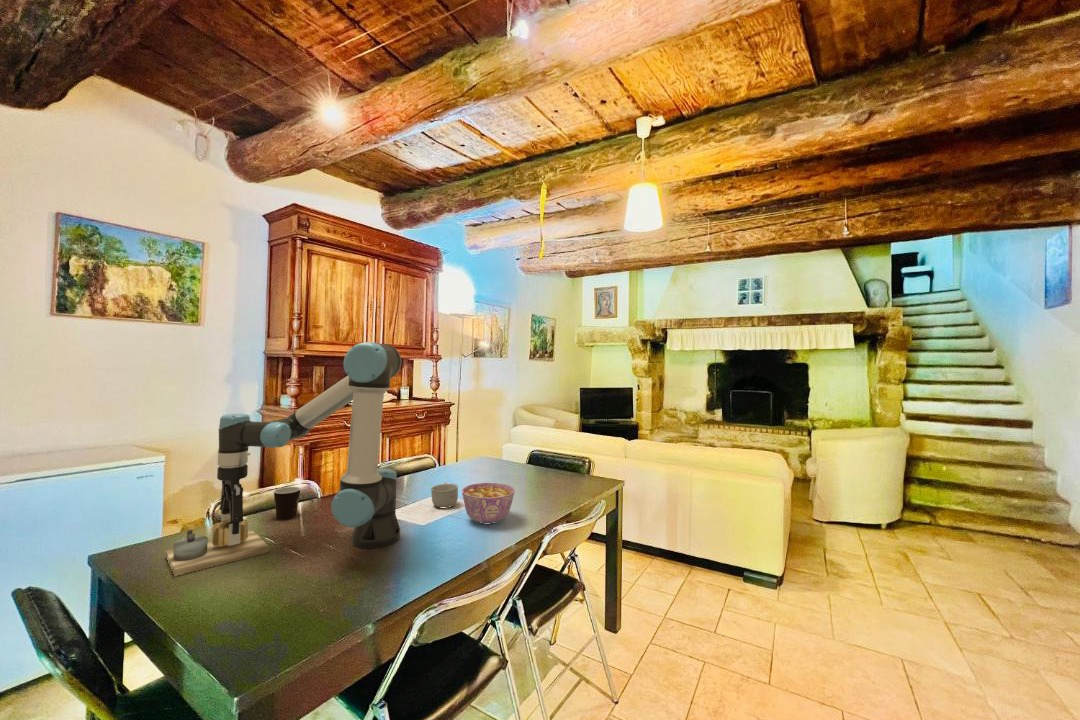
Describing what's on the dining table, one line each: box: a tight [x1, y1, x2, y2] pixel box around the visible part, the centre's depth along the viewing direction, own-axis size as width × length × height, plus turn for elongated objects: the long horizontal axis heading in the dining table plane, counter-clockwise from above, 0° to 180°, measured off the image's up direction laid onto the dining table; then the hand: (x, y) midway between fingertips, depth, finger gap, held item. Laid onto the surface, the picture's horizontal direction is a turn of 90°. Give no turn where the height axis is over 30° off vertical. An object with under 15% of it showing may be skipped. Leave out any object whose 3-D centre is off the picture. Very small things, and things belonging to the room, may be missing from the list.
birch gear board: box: [165, 529, 269, 577], centre depth 130 cm, size 16×22×8 cm
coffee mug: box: [273, 486, 301, 521], centre depth 164 cm, size 12×9×10 cm
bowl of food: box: [461, 482, 516, 523], centre depth 164 cm, size 20×20×12 cm
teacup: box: [430, 482, 459, 508], centre depth 181 cm, size 14×11×8 cm
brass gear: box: [211, 518, 249, 546], centre depth 132 cm, size 9×9×5 cm
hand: (230, 539), depth 132 cm, fingers closed on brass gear, 9 cm apart
